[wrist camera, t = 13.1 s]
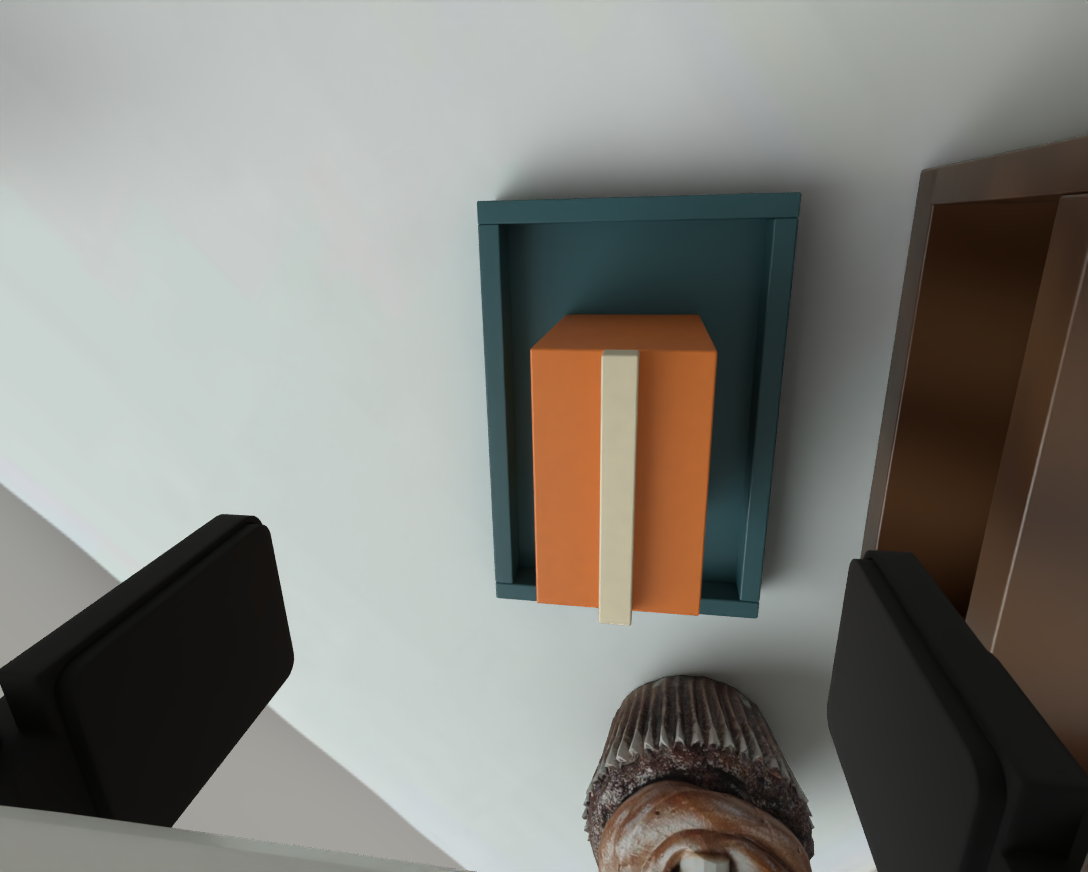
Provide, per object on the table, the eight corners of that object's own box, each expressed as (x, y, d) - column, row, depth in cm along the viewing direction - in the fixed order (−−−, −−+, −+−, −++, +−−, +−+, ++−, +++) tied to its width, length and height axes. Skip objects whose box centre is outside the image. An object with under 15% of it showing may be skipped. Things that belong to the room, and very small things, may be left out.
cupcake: (836, 733, 29) (919, 968, 20) (709, 845, 33) (731, 1091, 24) (667, 624, 29) (673, 811, 20) (557, 748, 33) (518, 959, 23)
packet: (565, 314, 25) (524, 353, 17) (699, 314, 24) (720, 356, 16) (567, 506, 28) (531, 618, 20) (688, 513, 27) (701, 632, 19)
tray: (490, 203, 25) (476, 200, 23) (789, 194, 23) (801, 192, 21) (506, 574, 30) (495, 598, 28) (750, 592, 28) (757, 619, 26)
